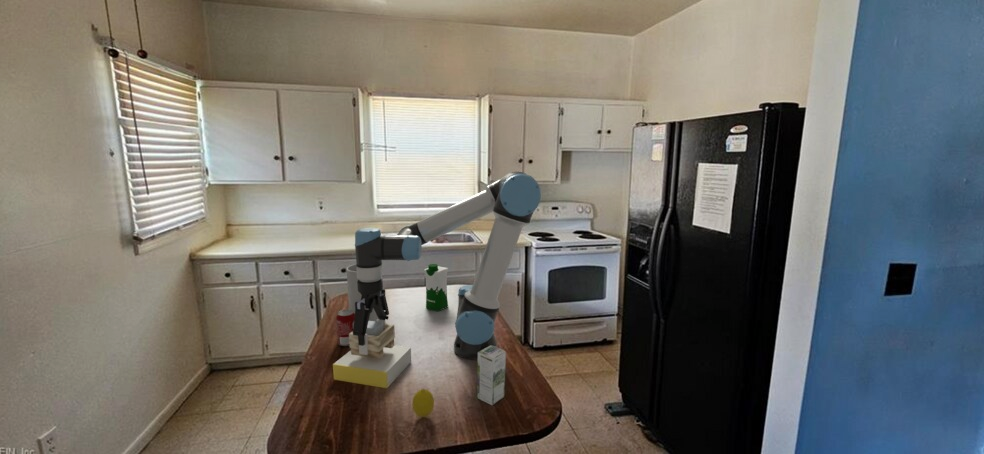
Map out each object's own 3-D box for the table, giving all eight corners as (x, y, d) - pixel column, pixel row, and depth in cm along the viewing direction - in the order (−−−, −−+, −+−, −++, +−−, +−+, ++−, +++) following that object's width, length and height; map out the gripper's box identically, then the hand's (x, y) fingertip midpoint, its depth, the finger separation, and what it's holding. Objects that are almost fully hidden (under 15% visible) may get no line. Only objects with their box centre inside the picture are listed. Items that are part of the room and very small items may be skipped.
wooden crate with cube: (395, 344, 136) (394, 324, 135) (379, 359, 127) (378, 337, 125) (367, 341, 139) (366, 321, 137) (350, 355, 129) (348, 334, 128)
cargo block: (383, 334, 134) (383, 322, 133) (375, 341, 129) (374, 328, 128) (369, 332, 135) (369, 320, 134) (361, 339, 130) (360, 327, 129)
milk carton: (422, 308, 185) (421, 265, 181) (436, 302, 193) (435, 260, 189) (438, 312, 180) (437, 268, 177) (451, 306, 188) (450, 263, 184)
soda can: (351, 348, 148) (349, 316, 146) (334, 346, 149) (332, 314, 147) (361, 340, 155) (359, 309, 152) (344, 338, 156) (342, 307, 154)
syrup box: (489, 389, 123) (489, 343, 120) (505, 397, 119) (506, 350, 117) (476, 398, 119) (476, 351, 116) (492, 406, 115) (493, 357, 112)
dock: (411, 361, 139) (410, 347, 138) (386, 388, 124) (386, 372, 123) (363, 354, 144) (362, 340, 143) (333, 379, 128) (332, 364, 127)
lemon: (435, 410, 113) (434, 383, 112) (433, 423, 108) (432, 395, 106) (414, 410, 113) (413, 383, 112) (411, 424, 108) (410, 395, 106)
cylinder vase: (346, 327, 166) (342, 266, 161) (376, 319, 173) (373, 261, 168) (356, 338, 156) (353, 273, 151) (388, 330, 163) (385, 268, 159)
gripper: (377, 267, 140) (380, 329, 144) (336, 289, 119) (341, 361, 123) (398, 269, 138) (400, 332, 142) (360, 291, 117) (364, 365, 121)
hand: (373, 346), depth 132 cm, fingers closed on wooden crate with cube, 10 cm apart
